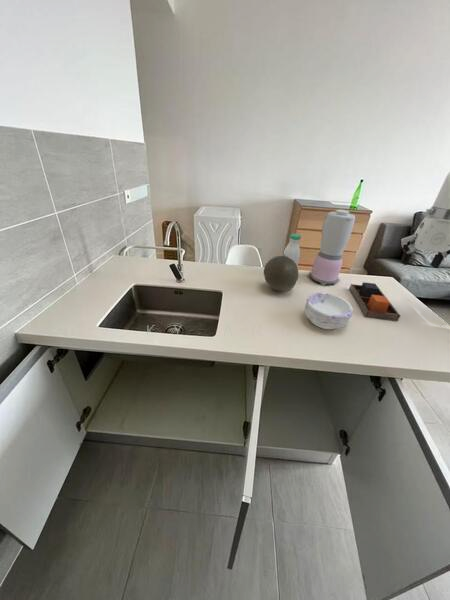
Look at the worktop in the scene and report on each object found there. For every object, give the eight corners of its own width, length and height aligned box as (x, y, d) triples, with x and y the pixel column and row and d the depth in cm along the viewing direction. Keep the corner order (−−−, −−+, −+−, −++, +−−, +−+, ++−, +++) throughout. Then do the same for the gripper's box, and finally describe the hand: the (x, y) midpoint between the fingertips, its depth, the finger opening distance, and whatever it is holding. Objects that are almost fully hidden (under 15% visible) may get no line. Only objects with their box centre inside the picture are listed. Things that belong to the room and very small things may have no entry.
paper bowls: (337, 341, 79) (345, 321, 74) (294, 321, 87) (299, 302, 83) (352, 321, 89) (359, 303, 84) (312, 305, 97) (317, 287, 93)
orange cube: (380, 306, 97) (385, 296, 95) (385, 313, 93) (390, 302, 90) (367, 305, 98) (371, 294, 95) (371, 312, 94) (376, 301, 91)
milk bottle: (297, 274, 121) (306, 234, 111) (292, 279, 116) (301, 238, 105) (282, 270, 125) (290, 231, 114) (277, 275, 119) (284, 235, 108)
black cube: (370, 293, 106) (375, 283, 104) (375, 299, 102) (379, 289, 100) (359, 292, 107) (362, 282, 104) (362, 297, 103) (366, 287, 100)
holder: (375, 292, 109) (378, 287, 108) (397, 321, 90) (400, 315, 89) (349, 289, 110) (350, 284, 109) (364, 317, 92) (367, 311, 90)
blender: (341, 285, 113) (366, 214, 97) (319, 287, 110) (340, 214, 94) (322, 271, 126) (340, 206, 110) (301, 272, 123) (316, 206, 107)
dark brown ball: (282, 280, 114) (288, 250, 106) (301, 295, 103) (309, 262, 95) (256, 284, 110) (260, 253, 102) (272, 300, 98) (278, 266, 91)
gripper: (420, 214, 73) (396, 266, 82) (484, 219, 71) (452, 272, 80) (408, 209, 80) (387, 258, 88) (466, 214, 78) (439, 263, 86)
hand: (418, 265), depth 84 cm, fingers open, 9 cm apart
